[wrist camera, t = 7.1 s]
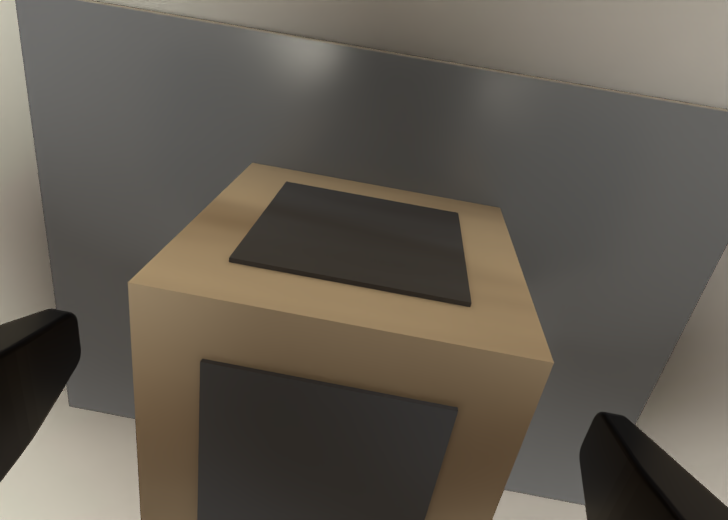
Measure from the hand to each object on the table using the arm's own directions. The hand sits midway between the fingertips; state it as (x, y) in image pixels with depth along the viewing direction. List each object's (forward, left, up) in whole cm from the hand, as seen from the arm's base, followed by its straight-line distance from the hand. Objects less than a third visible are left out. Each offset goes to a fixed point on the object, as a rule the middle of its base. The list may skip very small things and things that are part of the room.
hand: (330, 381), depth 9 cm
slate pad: (0, 0, -3) cm, 3 cm away
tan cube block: (0, 0, -3) cm, 3 cm away
